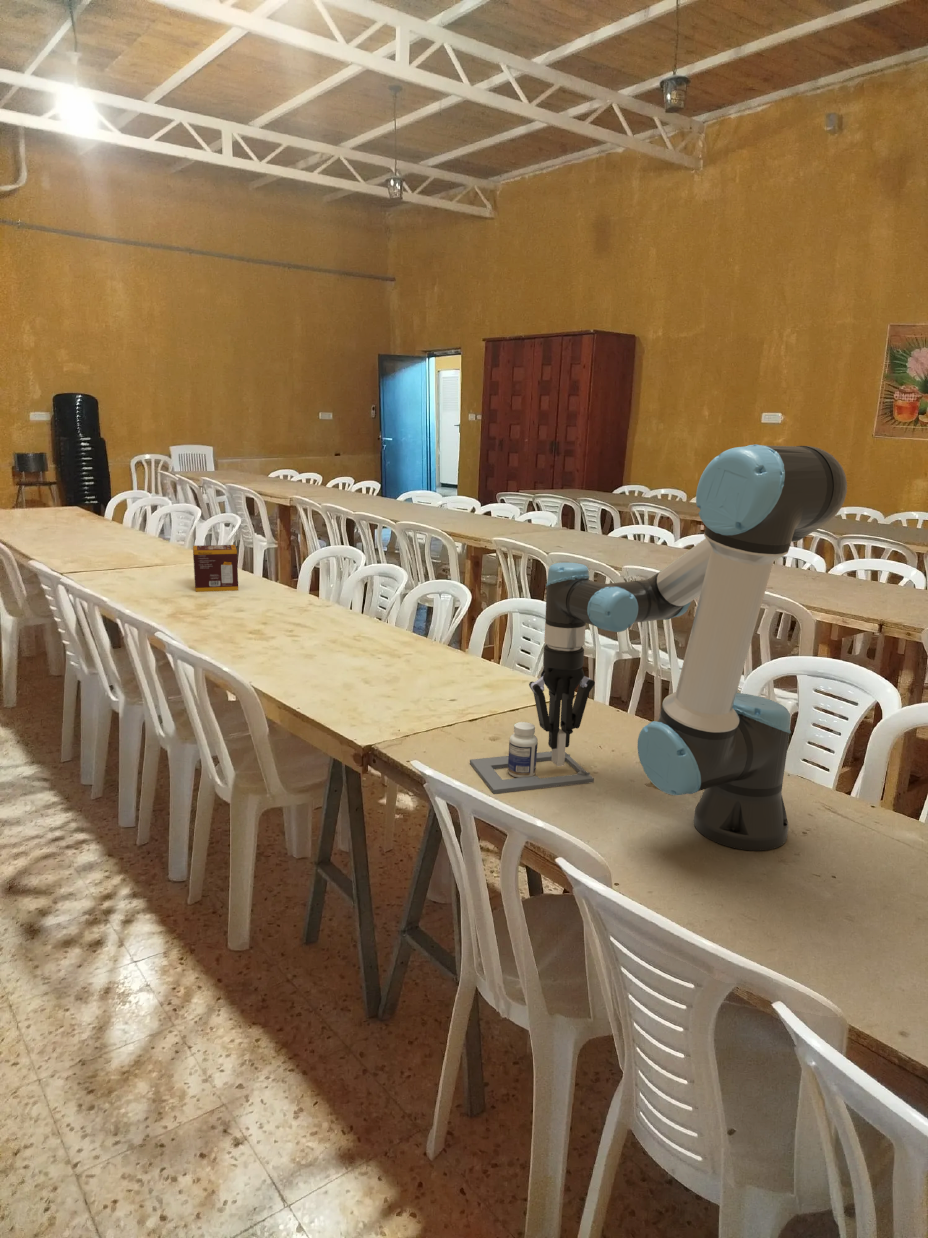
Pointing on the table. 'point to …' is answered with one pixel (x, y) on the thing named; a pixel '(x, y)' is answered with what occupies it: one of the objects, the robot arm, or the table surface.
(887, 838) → the table surface
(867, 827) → the table surface
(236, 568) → the supplement box
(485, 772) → the keyhole board
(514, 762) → the pill bottle
